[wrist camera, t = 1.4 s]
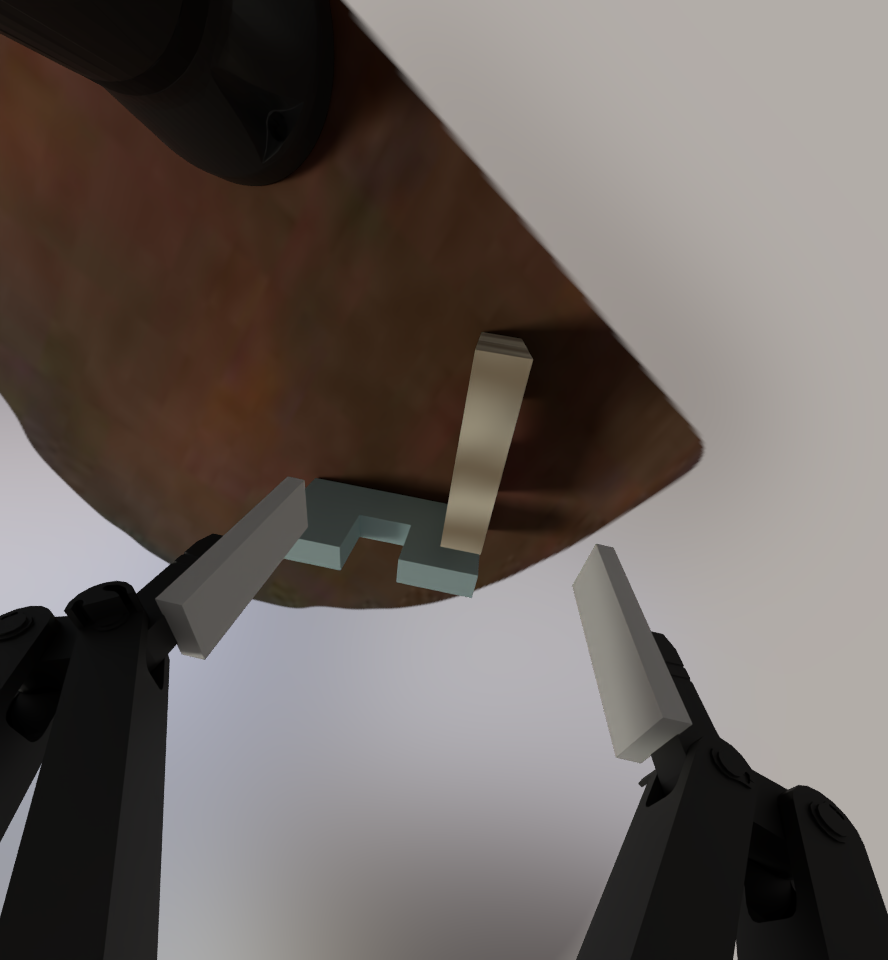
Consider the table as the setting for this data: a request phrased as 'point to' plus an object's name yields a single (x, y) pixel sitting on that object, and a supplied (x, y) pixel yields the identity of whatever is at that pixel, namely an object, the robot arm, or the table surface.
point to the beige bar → (485, 438)
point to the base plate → (383, 535)
